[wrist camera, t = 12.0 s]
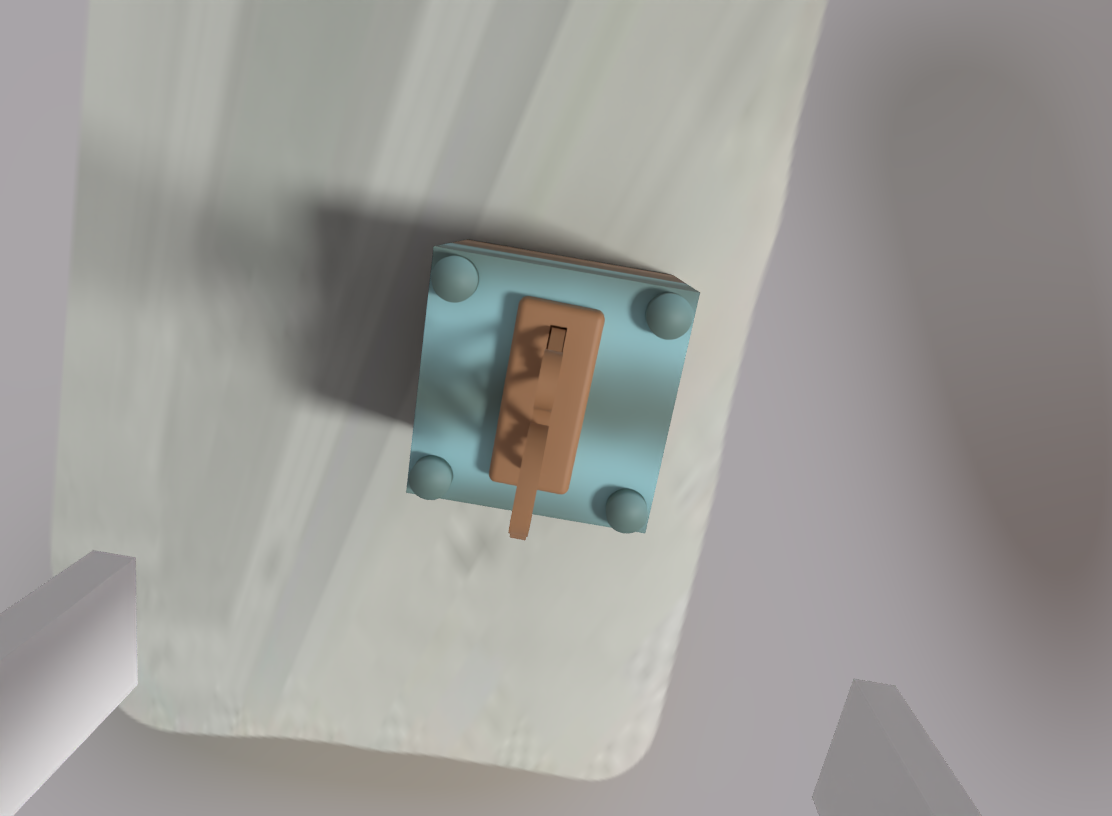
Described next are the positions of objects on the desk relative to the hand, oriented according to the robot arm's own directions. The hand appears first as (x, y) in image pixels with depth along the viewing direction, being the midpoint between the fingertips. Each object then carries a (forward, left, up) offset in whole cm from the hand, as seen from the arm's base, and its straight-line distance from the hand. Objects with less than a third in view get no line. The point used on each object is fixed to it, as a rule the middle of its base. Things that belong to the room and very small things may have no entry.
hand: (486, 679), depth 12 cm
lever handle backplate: (0, 0, -20) cm, 20 cm away
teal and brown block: (0, 0, -29) cm, 29 cm away
